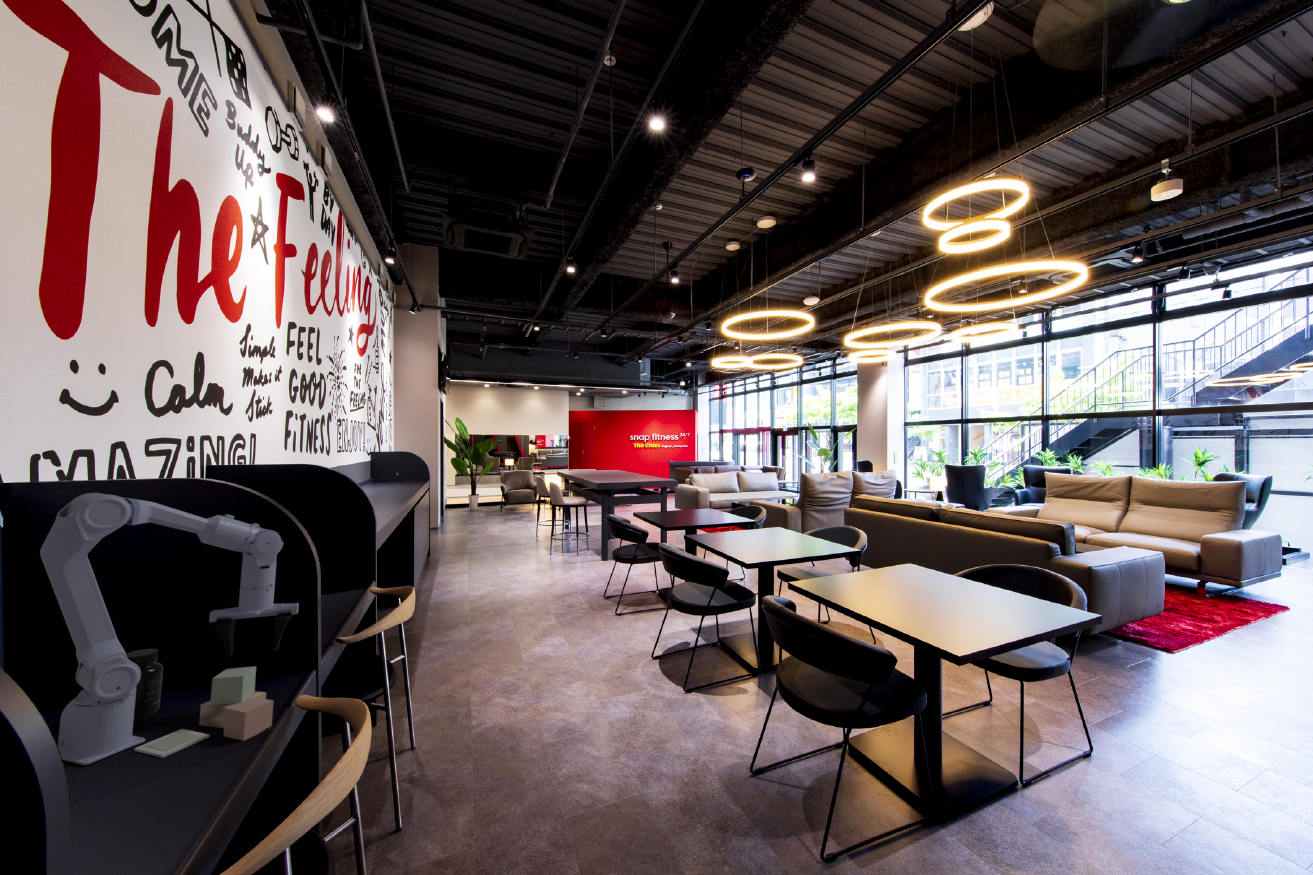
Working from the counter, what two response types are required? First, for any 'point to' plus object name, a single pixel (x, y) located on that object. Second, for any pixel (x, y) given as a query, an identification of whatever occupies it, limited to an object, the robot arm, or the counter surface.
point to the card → (171, 743)
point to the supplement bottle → (147, 682)
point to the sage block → (233, 685)
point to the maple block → (219, 712)
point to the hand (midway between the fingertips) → (252, 652)
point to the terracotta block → (248, 718)
